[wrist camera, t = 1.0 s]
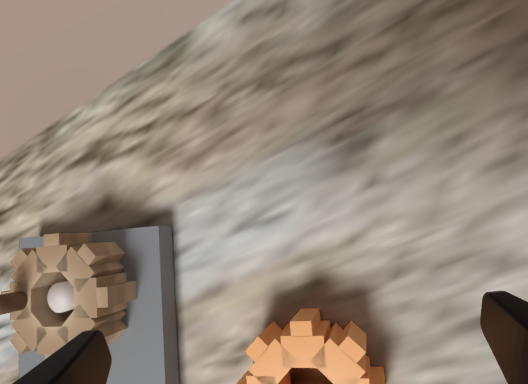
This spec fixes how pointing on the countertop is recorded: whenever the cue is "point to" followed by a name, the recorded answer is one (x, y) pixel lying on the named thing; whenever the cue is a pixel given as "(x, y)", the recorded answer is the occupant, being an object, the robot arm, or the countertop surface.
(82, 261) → the birch gear
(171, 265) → the gear board
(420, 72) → the countertop surface
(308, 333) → the orange gear
